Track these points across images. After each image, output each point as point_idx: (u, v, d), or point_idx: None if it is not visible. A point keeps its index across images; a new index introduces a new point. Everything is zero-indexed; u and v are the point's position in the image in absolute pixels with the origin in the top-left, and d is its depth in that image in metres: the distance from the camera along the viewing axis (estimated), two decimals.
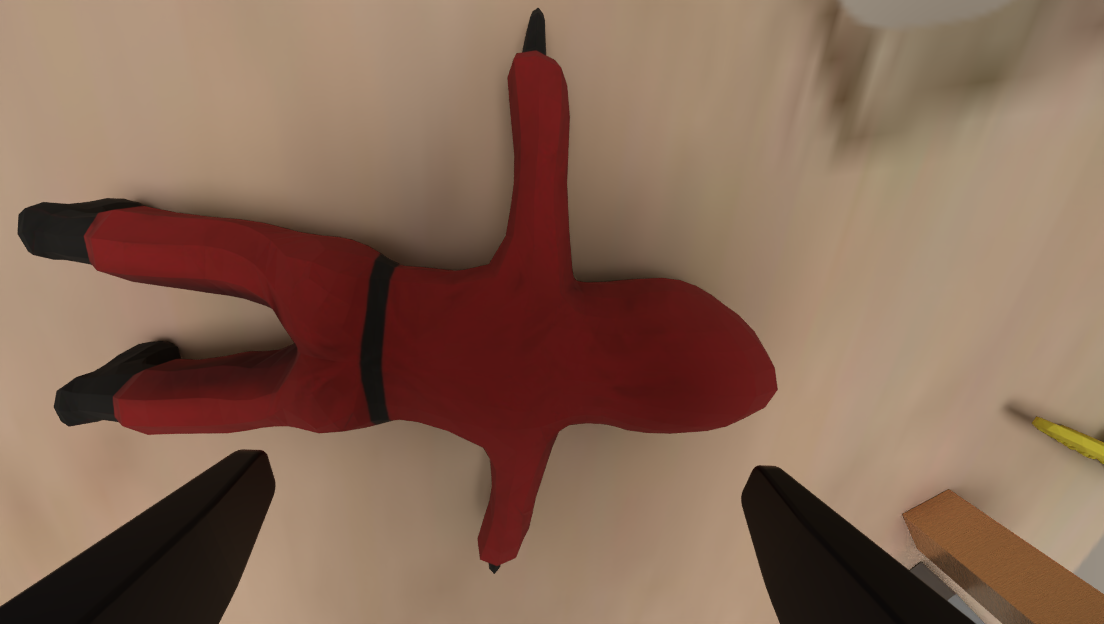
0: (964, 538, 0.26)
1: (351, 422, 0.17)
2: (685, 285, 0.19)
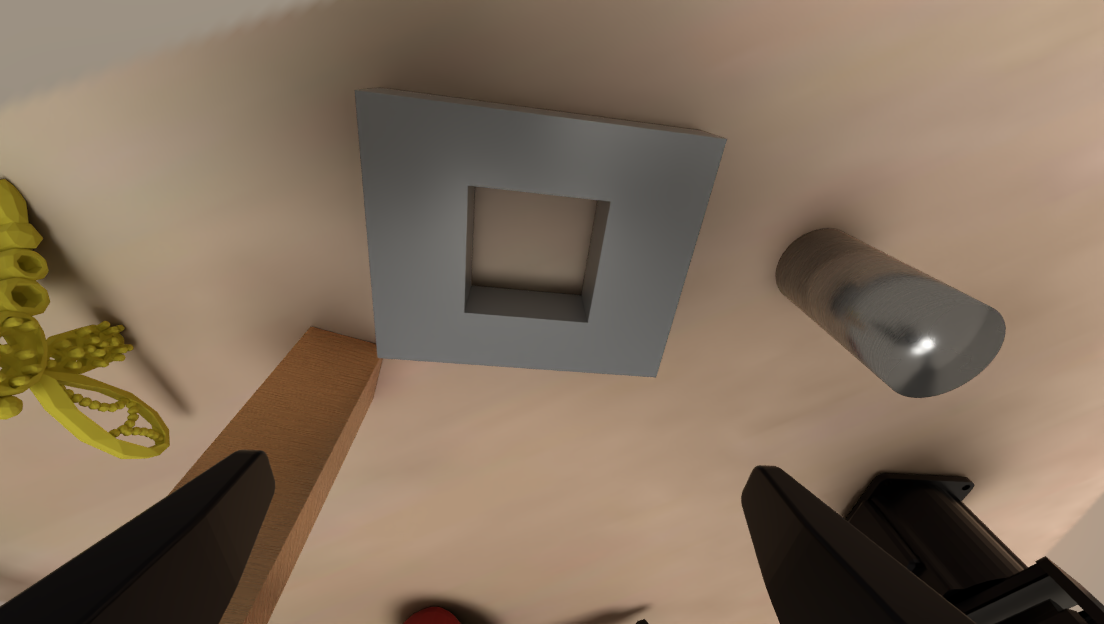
0: None
1: None
2: None
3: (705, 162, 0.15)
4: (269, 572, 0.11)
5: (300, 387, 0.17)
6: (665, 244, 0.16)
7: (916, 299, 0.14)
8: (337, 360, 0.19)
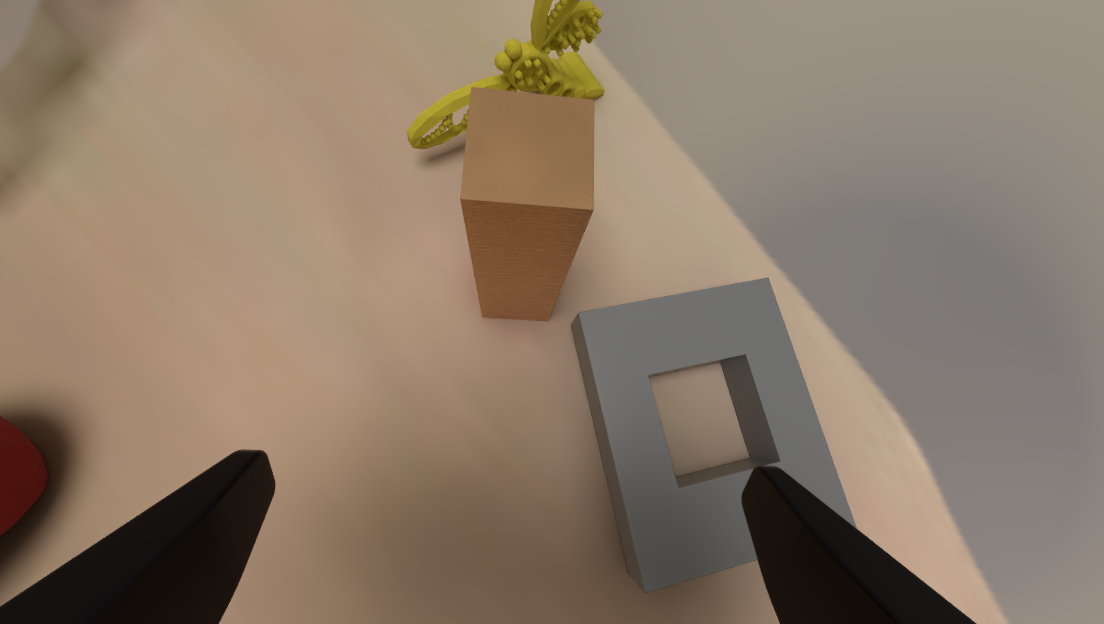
0: None
1: None
2: None
3: None
4: (582, 231, 0.12)
5: None
6: None
7: None
8: None
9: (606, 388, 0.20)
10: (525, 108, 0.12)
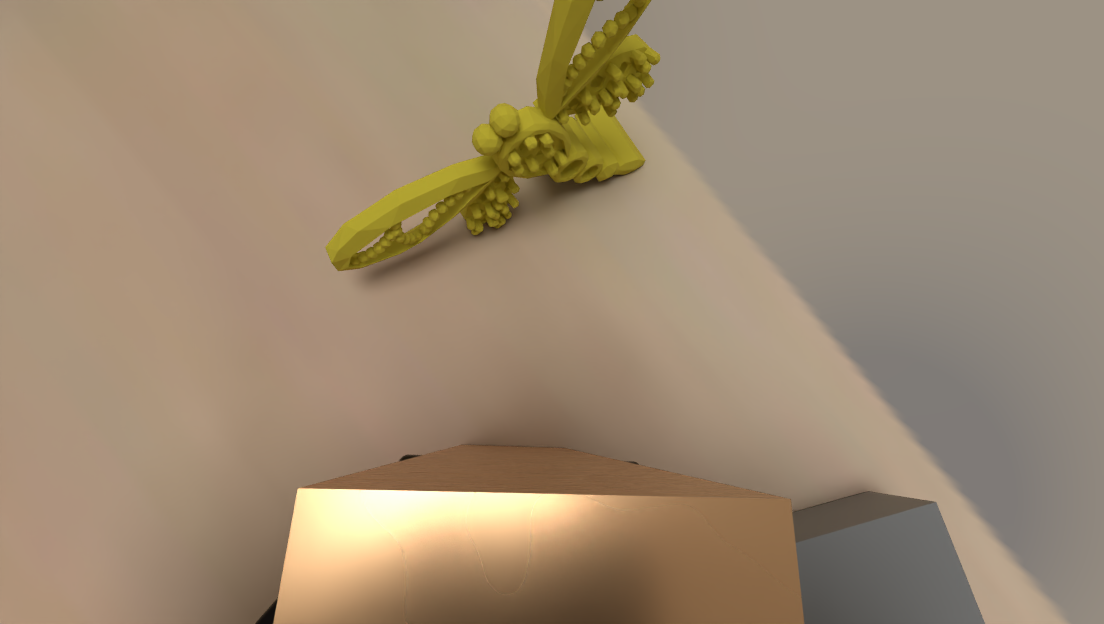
0: None
1: None
2: None
3: None
4: None
5: None
6: None
7: None
8: None
9: None
10: (527, 580, 0.03)
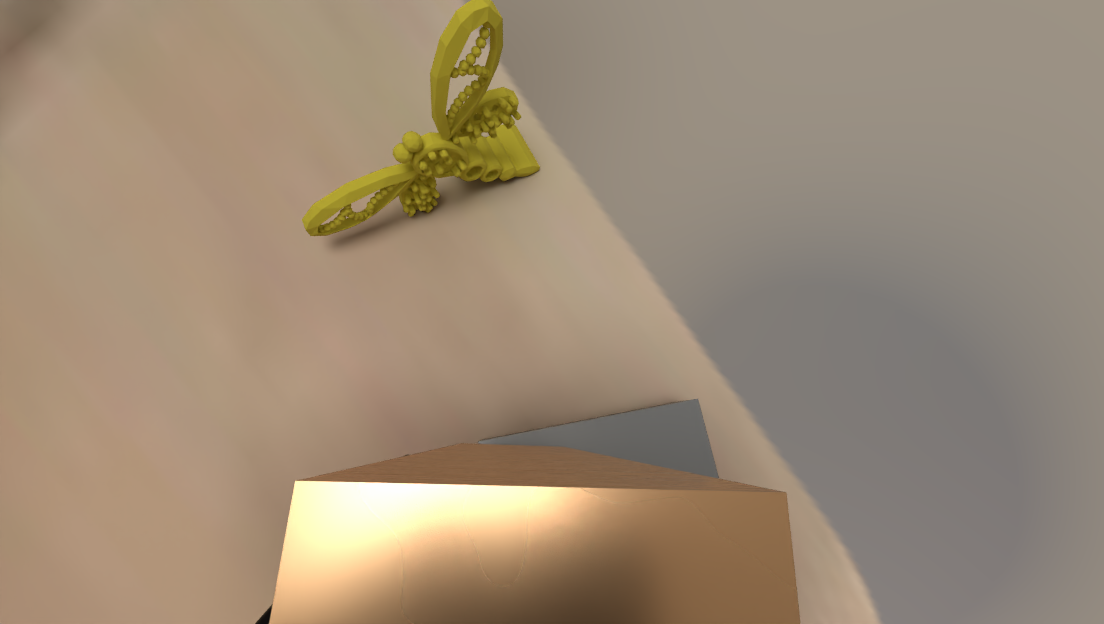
0: None
1: None
2: None
3: None
4: None
5: None
6: None
7: None
8: None
9: None
10: (522, 570, 0.03)
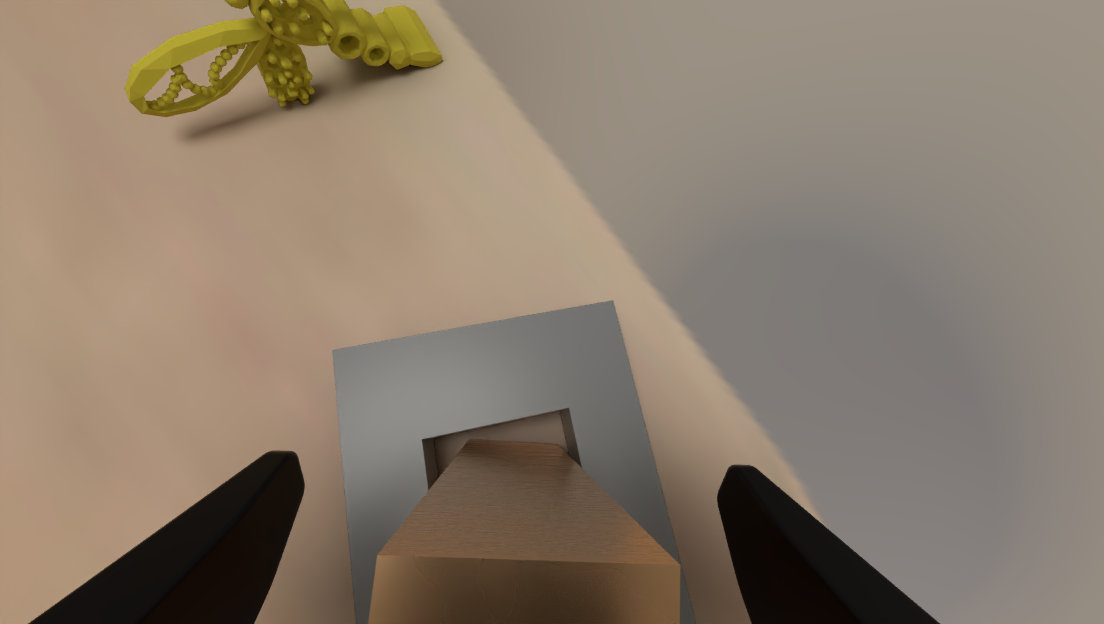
0: None
1: None
2: None
3: None
4: None
5: None
6: None
7: None
8: None
9: (356, 459, 0.14)
10: (512, 610, 0.05)
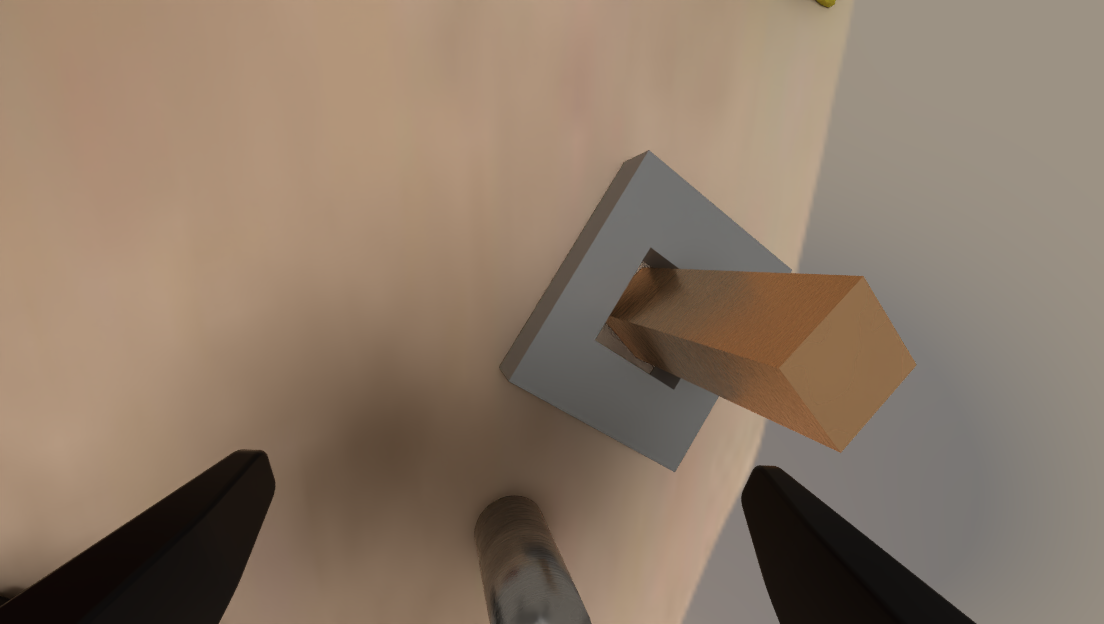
0: (642, 299, 0.20)
1: None
2: None
3: (668, 456, 0.22)
4: (799, 432, 0.13)
5: None
6: (628, 419, 0.21)
7: None
8: None
9: (614, 225, 0.19)
10: (876, 330, 0.12)
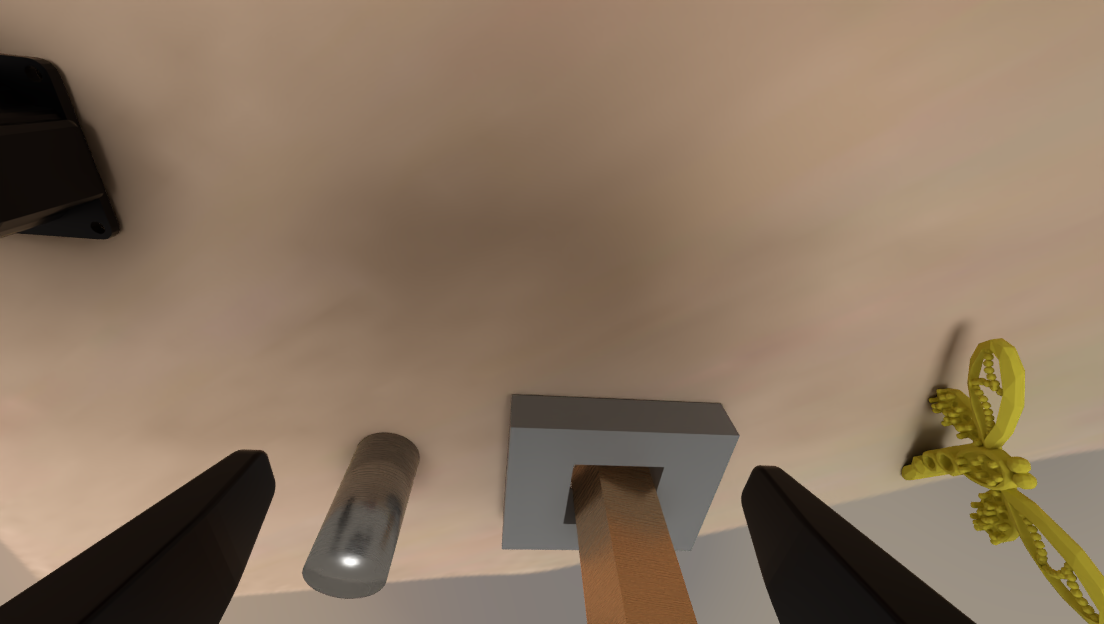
0: (622, 482, 0.23)
1: None
2: None
3: (510, 541, 0.26)
4: None
5: None
6: (524, 508, 0.25)
7: None
8: None
9: (669, 439, 0.23)
10: None
